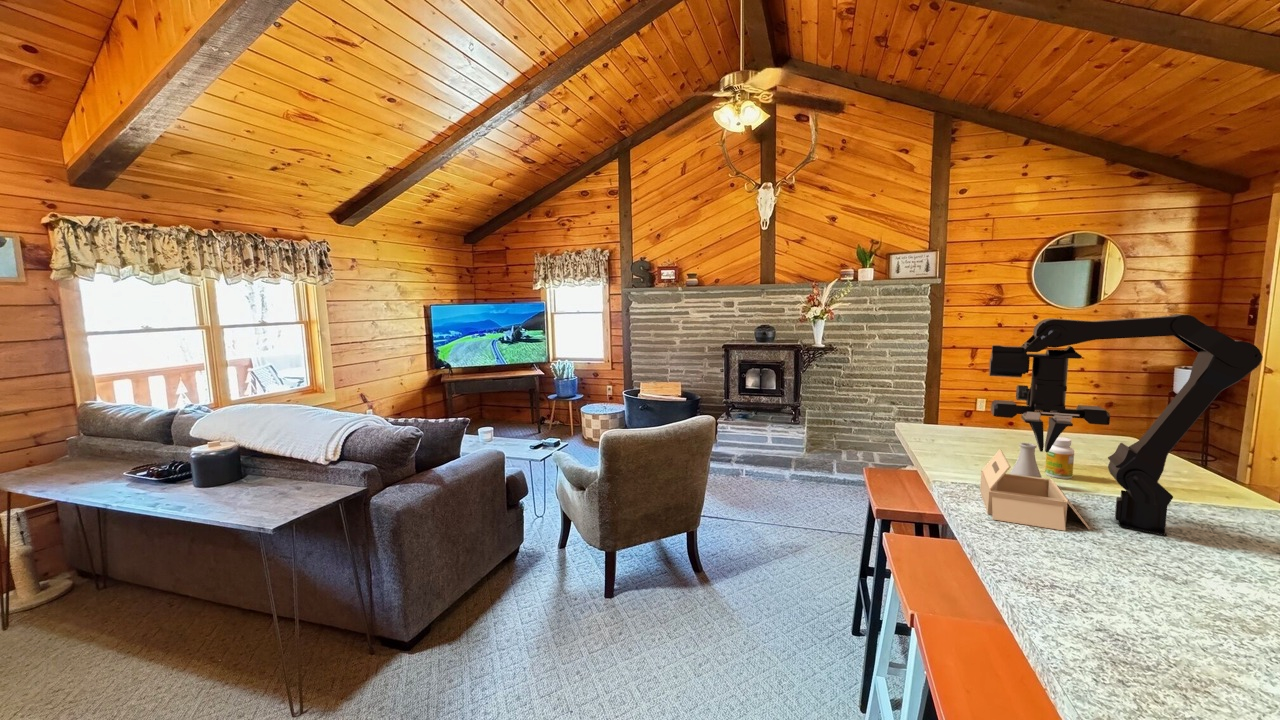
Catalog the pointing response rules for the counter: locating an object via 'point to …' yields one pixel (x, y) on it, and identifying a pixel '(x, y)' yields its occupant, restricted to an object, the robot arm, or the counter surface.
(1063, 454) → the supplement bottle
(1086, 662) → the counter surface
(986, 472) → the far flap
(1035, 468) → the flask
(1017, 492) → the carton
